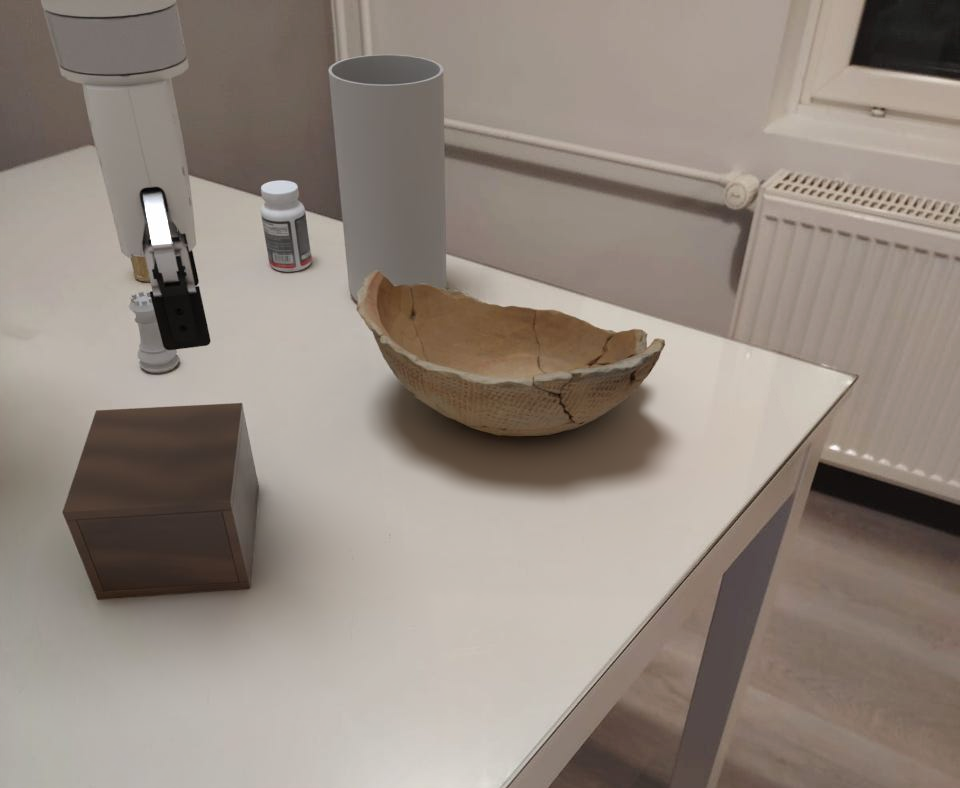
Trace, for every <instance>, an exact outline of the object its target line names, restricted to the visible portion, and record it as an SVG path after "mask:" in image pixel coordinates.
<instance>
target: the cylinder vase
mask: <svg viewBox="0 0 960 788" xmlns="http://www.w3.org/2000/svg"><path fill="white" fill-rule="evenodd" d="M328 80H329V81H328V82H329V92H330V101H331V103H330V104H331V113H332V123H333V133H334V143H335V155H336V167H337V175H338V186H339V196H340V206H341V207H340V208H341V218H342V219H341V220H342V227H343V230H342V231H343V238H344V250H345V251H344V252H345V260H346V271H347V282H348V291H349V293H350V296H351V297H352V298H353V300H355V301H356V302H357V303H358V299H357V292H358V291H359V289H360V286H361V284H363V282H364V279H365V277H366V276H367V275H368V274H369V273H371V272H373V271H375V270H379V271H380V272H381V273H382V275H383V276H384V277H386V278H387V279H388V280H389V281H390V282H391V283H392V284H393V285H402V284H405V285H409V286H411V285H416V284H421V283H428V284H429V285H431V286H434V287H439V288H444V289H447V282H448V281H447V225H446V224H447V223H446V221H447V219H446V218H447V217H446V215H447V214H446V159H445V158H446V156H445V155H446V154H445V152H446V151H445V96H444V95H445V94H444V93H445V92H444V91H445V90H444V82H445V81H444V67H443V65H441V64H440V63H439V62H437V61H434V60H432V59H429V58H426V57H420V56H414V55H408V54H407V55H406V54H369V55H360V56H354V57H349V58H345V59H342V60H339V61H336V62H334V63H332V64H331V65H330V66H329V67H328Z"/></svg>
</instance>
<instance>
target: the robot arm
mask: <svg viewBox="0 0 960 788" xmlns="http://www.w3.org/2000/svg"><path fill="white" fill-rule="evenodd" d="M40 3H41V7H42V8H43V9H42V11H43V14H44V18H45V21H46V26H47V29H48V32H49V36H50V39H51V43H52V46H53V49H54V54H55V57H56V60H57V64H58V68H59V73H60V75H61V76H62V77H63V78H65V79H66V80H67V81H70V82H73V83H77V84H81V85H82V91H83V96H84V97H83V98H84V102H85V106H86V112H87V116H88V117H87V118H88V122H89V126H90V130H91V134H92V138H93V144H94V147H95V151H96V156H97V160H98V163H99V166H100V171H101V175H102V178H103V181H104V182H103V183H104V186H105V187H104V188H105V191H106V195H107V199H108V202H109V206H110V211H111V214H112V219H113V222H114V226H115V230H116V231H115V232H116V235H117V237H118V238H117V239H118V243H119V247H120V252H121V253H122V254H123V255H124V256H125V257H127V258H128V259H131V258H133V254H138V253H141V247H142V245H143V252H144V255H145V259H146V264H147V269H148V273H149V278H150V282H149V283H150V287H151V291H149V292H150V296H151V300H152V304H153V308H154V312H155V316H156V320H157V323H158V327H159V331H160V335H161V339H162V343H163V346H164V348H165V349H167V350H183V349H184V350H185V349H190V348H191V349H192V348H198V347H207V346H209V345H210V344H211V336H210V331H209V327H208V322H207V317H206V312H205V308H204V302H203V299H202V294H201V293H202V292H201V288H200V285H199V284H200V283H199V282H200V281H199V280H200V279H199V275H198V272H197V271H198V270H197V266H196V262H195V255H194V251H193V250H194V249H195V247H196V246H197V238H196V224H195V216H194V215H195V214H194V206H193V204H194V203H193V197H192V189H191V188H192V187H191V182H190V174H189V168H188V167H189V166H188V161H187V155H186V151H185V143H184V138H183V133H182V127H181V123H180V122H181V121H180V116H179V113H178V106H177V102H176V96H175V92H174V91H175V90H174V85H173V81H172V79H173V78H176V77H179V76H180V75H183V74H184V73H185V72H186V71H188V69H189V68H190V64H189V58H188V54H187V49H186V45H185V39H184V32H183V28H182V23H181V18H180V11H179V6H178V2H177V0H40ZM146 232H147V233H146Z"/></svg>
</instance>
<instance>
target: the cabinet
mask: <svg viewBox="0 0 960 788" xmlns="http://www.w3.org/2000/svg"><path fill="white" fill-rule="evenodd" d="M255 465H256V464H255V461H254V455H253V450H252V445H251V441H250V435H249V431H248V425H247V420H246V414H245V410H244V405H243V402H233V403H232V402H231V403H230V402H229V403H214V404H212V403H211V404H194V405H193V404H192V405H174V406H153V407H136V408H120V409H119V408H116V409H115V408H114V409H113V408H112V409H97V410H95V412H94V416H93V417H92V422H91V424H90V428H89V430H88V434H87V436H86V440H85V443H84V445H83V448H82V452H81V454H80V458H79V461H78V463H77V467H76V470H75V473H74V475H73V479H72V481H71V484H70V488H69V491H68V493H67V497H66V501H65V503H64V506H63V509H62V512H61V513H62V515H63V518H64V519H65V522H66V525H67V527H68V529H69V532H70V535H71V537H72V540H73V542H74V545H75V547H76V550H77V552H78V555H79V557H80V559H81V562H82V564H83V567H84V570H85V572H86V575H87V578H88V580H89V582H90V585H91V587H92V590H93V592H94V595H95V598H96V600H104V599H105V600H106V599H119V598H120V599H121V598H133V597H147V596H162V595H176V594H188V593H203V592H218V591H230V590H231V591H233V590H246V589H247V590H248V589H251V583H252V573H253V572H252V570H253V561H254V560H253V558H254V547H255V536H256V524H257V513H258V511H257V510H258V500H259V489H260V485H259V481H258V480H259V479H258V475H257V471H256V466H255Z"/></svg>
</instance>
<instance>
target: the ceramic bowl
mask: <svg viewBox="0 0 960 788" xmlns="http://www.w3.org/2000/svg"><path fill="white" fill-rule="evenodd" d="M357 299H358V302H357V305H356V311H357V313H358V315H359V316H360V318H361V319H362V320H363V321H364V323H365V325H366V327H367V328H368V330H369V331H371V332H372V335H373V337H374V340H375V342H376V344H377V346H378V349H379V351H380V353H381V355H382V357H383V359H384V361H385V362H386V364H387V365H388V367H389V368H390V370H391V372H392V373H393V374H394V376H395V377H396V378H397V380H399V381H400V382H401V384H402V386H403V387H404V388H405V389H407V390H408V391H409V392H410V393H411V394H413V396H414V398H416V399H417V400H419V401H420V402H422V403H423V404H425V405H426V406H428V407H429V408H431V409H433V410H434V411H436V412H437V413H439V414H440V415H442V416H444V417H446V418H448V419H451V420H453V421H456V422H458V423H460V424H462V425H465V426H467V427H468V428H471V429H474V430H477V431H480V432H483V433H488V434H491V435H495V436H499V437H501V436H507V437H538V436H539V437H541V436H550V435H555V434H558V433H561V432H565V431H571V430H575V429H578V428H580V427H582V426H584V425H587V424H589V423H591V422H593V421H595V420H598V419H599V418H600V417H602V416H603V415H604V414H606V413H608V412H609V411H611V410H612V409H614V408H615V407H617V406H619V405H620V404H622V403H623V402H624V401H625V400H626V399H627V398H628V397H629V396H630V395H631V394H632V393H634V392H635V390H637V388H639V386H640V385H641V384H642V383H644V380H646V378H648V376H649V375H650V373H651V372H652V371H653V369H654V368H655V366H656V364H657V362H658V361H659V359H660V357H661V354H662V351H663V350H664V348H665V346H666V340H665V339H663V338H659V337H657V338H654V339H653V341H652V342H651V343H650V344H649V346H648V345H647V344H648V342H647V338H648V333H647V332H645V330H644V329H640V328H632V329H629V330H621V331H617V332H616V331H615V330H612V329H604V328H600V327H598V326H595V325H593V324H592V323H590V322H588V321H587V320H583V319H580V318H578V317H577V316H573V315H570V314H567V313H564V312H562V311H560V310H556V309H553V308H552V309H535V308H532V307H526V306H525V307H524V306H517V305H508V306H501V305H499V304H494V303H493V304H491V303H487V302H484V301H482V300H480V299H478V298H476V297H474V296H471V295H467V294H465V293H464V292H462V291H461V290H460V289H453V290H451V289H447V288H446V289H444V288H439V287H434V286H431V285H429V284H428V283H421V284H416V285H411V286H409V285H405V284H402V285H393V284H392V283H391V282H390V281H389V280H388V279H387V278H386V277H384V276H383V275H382V273H381V272H380V271H379V270H375V271H373V272H371V273H369V274H368V275H367V276H366V277H365V279H364V282H363V284H361V286H360V289H359V291H358V292H357Z"/></svg>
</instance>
